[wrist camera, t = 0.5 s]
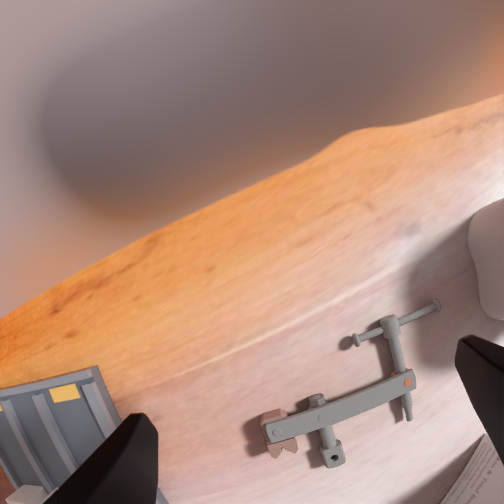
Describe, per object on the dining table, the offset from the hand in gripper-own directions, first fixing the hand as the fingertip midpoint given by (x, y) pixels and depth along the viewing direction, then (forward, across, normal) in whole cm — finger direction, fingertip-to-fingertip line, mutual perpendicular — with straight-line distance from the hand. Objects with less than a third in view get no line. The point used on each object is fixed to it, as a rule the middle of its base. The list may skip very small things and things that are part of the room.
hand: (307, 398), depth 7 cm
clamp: (+10, -4, +12) cm, 17 cm away
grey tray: (+6, +23, +15) cm, 28 cm away
